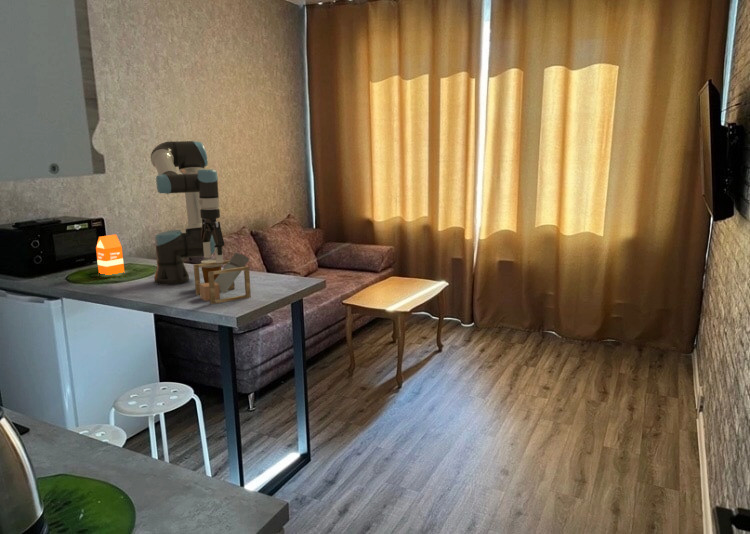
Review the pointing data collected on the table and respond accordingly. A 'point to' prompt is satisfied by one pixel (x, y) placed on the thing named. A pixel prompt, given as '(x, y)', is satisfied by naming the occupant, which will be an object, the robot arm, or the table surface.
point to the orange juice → (109, 255)
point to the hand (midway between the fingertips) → (213, 260)
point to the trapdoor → (228, 278)
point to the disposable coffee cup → (210, 269)
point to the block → (206, 293)
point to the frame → (211, 281)
